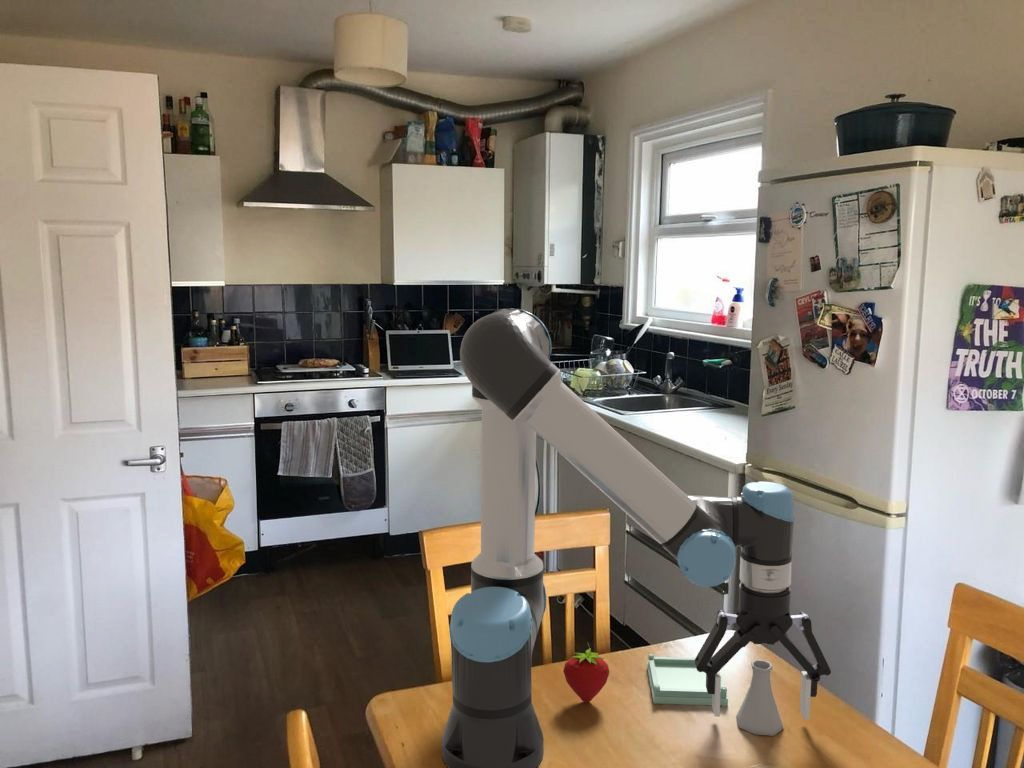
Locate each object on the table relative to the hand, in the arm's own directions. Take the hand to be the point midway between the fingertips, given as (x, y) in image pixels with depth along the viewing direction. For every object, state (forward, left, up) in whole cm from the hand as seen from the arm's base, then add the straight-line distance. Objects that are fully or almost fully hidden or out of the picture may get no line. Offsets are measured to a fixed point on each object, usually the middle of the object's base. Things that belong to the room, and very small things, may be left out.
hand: (759, 713), depth 129 cm
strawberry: (-27, +5, -2) cm, 28 cm away
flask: (0, 0, -2) cm, 2 cm away
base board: (-10, +11, -2) cm, 15 cm away
